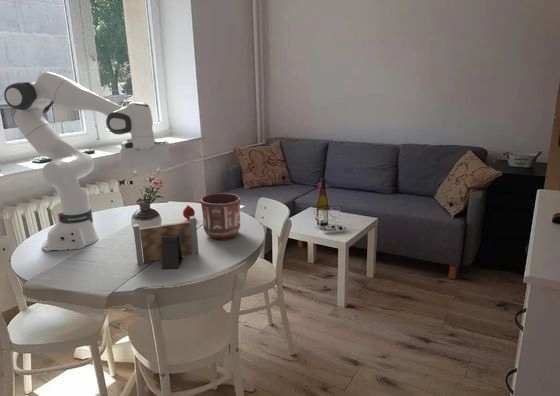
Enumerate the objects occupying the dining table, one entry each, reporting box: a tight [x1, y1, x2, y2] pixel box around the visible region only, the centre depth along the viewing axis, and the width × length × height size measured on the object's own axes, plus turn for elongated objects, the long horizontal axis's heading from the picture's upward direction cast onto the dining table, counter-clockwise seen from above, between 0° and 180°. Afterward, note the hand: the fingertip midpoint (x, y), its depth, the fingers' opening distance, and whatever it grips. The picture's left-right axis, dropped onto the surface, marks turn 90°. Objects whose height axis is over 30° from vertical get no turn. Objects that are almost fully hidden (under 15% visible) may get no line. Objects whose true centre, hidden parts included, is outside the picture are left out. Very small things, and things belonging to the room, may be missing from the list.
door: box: [139, 220, 193, 264], centre depth 169 cm, size 19×3×14 cm, turn 112°
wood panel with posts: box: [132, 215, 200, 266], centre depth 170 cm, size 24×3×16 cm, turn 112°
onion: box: [182, 204, 196, 221], centre depth 215 cm, size 6×6×8 cm
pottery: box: [200, 192, 241, 241], centre depth 192 cm, size 18×18×18 cm
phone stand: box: [161, 235, 184, 270], centre depth 165 cm, size 9×6×12 cm, turn 178°
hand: (146, 174), depth 178 cm, fingers open, 8 cm apart
